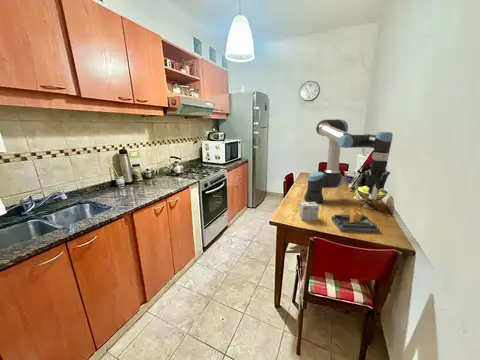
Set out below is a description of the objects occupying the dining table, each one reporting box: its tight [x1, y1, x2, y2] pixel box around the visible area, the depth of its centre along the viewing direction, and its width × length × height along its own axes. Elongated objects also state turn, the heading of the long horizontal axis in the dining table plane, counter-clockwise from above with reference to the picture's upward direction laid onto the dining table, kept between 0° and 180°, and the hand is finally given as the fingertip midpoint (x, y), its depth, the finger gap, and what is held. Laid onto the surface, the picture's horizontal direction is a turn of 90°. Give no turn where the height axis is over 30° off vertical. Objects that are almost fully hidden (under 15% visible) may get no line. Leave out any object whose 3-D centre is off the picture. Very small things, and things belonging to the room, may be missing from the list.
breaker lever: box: [349, 210, 362, 222], centre depth 124 cm, size 5×4×7 cm
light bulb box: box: [298, 201, 320, 221], centre depth 134 cm, size 11×7×11 cm, turn 92°
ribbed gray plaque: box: [333, 214, 378, 228], centre depth 125 cm, size 14×20×2 cm
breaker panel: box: [331, 215, 381, 234], centre depth 125 cm, size 15×22×4 cm
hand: (372, 198), depth 120 cm, fingers closed
